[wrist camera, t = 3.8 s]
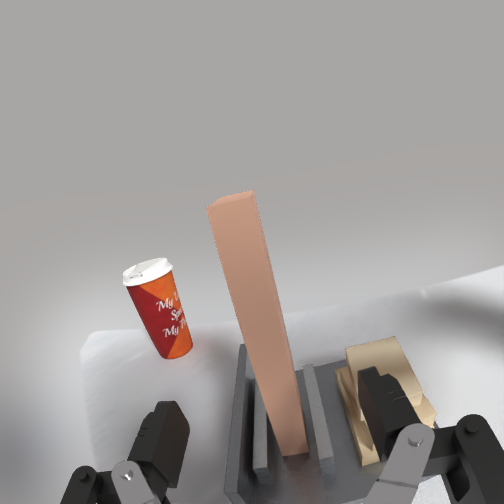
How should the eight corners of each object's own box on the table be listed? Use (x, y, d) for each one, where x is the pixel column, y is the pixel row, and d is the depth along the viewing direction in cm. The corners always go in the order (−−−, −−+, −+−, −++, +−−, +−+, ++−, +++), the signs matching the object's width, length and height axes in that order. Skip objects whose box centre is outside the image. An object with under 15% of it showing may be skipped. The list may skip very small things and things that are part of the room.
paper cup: (193, 361, 38) (158, 270, 34) (147, 364, 39) (110, 280, 35) (204, 332, 45) (176, 252, 42) (163, 337, 46) (134, 262, 42)
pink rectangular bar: (279, 411, 24) (221, 197, 19) (302, 407, 24) (253, 189, 19) (282, 456, 19) (206, 207, 14) (309, 451, 19) (250, 196, 13)
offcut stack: (335, 380, 26) (331, 344, 25) (389, 364, 26) (390, 328, 24) (361, 466, 16) (364, 434, 14) (431, 440, 15) (444, 404, 14)
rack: (253, 386, 30) (240, 344, 28) (389, 354, 29) (389, 309, 27) (249, 520, 14) (223, 492, 12) (452, 467, 12) (476, 423, 11)
